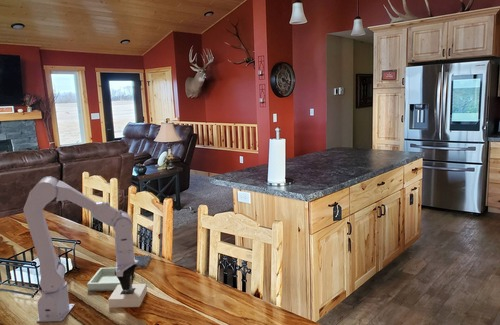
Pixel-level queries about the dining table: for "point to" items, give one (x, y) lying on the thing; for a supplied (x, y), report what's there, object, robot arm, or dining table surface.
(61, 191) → the robot arm
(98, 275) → the tray
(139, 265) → the woven mat
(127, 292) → the steel pin
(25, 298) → the dining table surface
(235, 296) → the dining table surface
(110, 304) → the block
